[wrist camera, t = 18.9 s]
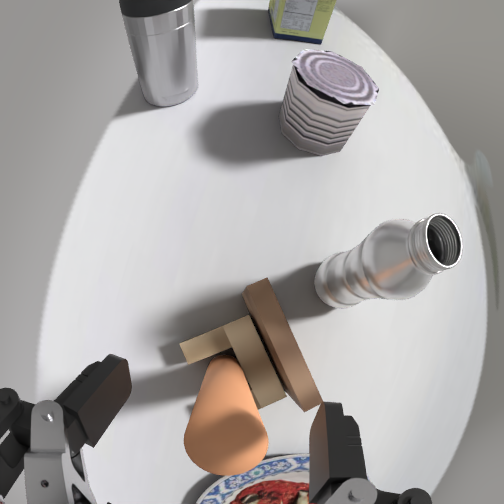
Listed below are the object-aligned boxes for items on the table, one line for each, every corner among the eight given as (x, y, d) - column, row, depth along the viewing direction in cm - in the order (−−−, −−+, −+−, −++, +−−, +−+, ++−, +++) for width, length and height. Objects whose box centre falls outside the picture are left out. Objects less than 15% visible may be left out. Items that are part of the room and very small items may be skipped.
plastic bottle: (366, 290, 34) (485, 256, 15) (326, 320, 33) (439, 313, 13) (341, 248, 35) (443, 178, 16) (299, 275, 34) (387, 218, 14)
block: (183, 341, 31) (179, 343, 28) (246, 315, 32) (249, 314, 29) (219, 416, 29) (218, 424, 26) (281, 390, 30) (286, 396, 27)
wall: (241, 294, 33) (246, 286, 25) (257, 287, 33) (267, 277, 25) (286, 392, 30) (304, 412, 22) (301, 384, 31) (323, 402, 23)
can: (265, 106, 39) (278, 48, 28) (326, 96, 41) (349, 45, 30) (298, 164, 37) (324, 108, 26) (360, 148, 39) (396, 100, 28)
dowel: (201, 362, 30) (169, 423, 11) (233, 349, 31) (247, 394, 12) (216, 392, 30) (207, 484, 10) (247, 379, 30) (280, 458, 11)
